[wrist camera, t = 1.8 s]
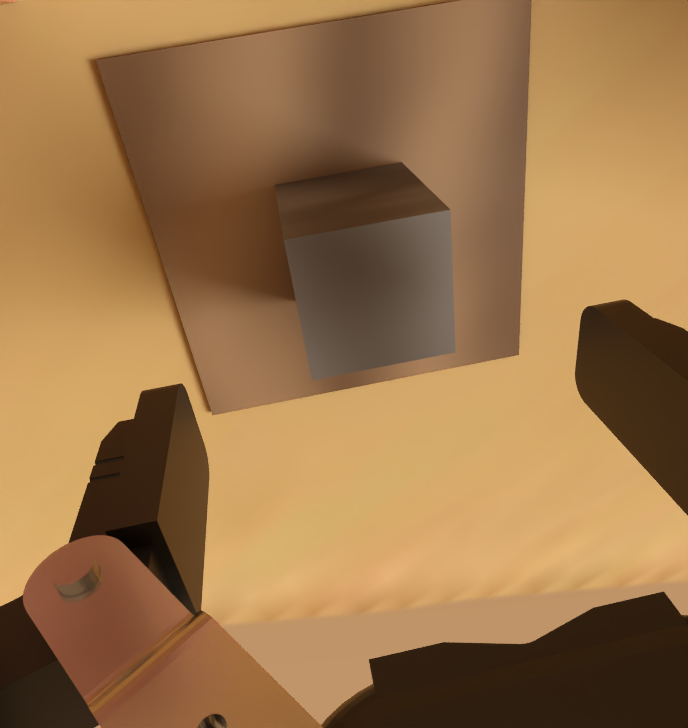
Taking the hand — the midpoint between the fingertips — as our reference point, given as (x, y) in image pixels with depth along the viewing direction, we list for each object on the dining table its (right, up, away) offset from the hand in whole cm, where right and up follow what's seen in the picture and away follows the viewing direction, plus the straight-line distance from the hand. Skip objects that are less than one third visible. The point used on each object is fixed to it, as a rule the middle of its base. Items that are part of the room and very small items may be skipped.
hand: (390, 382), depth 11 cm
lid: (-1, +5, +8) cm, 9 cm away
